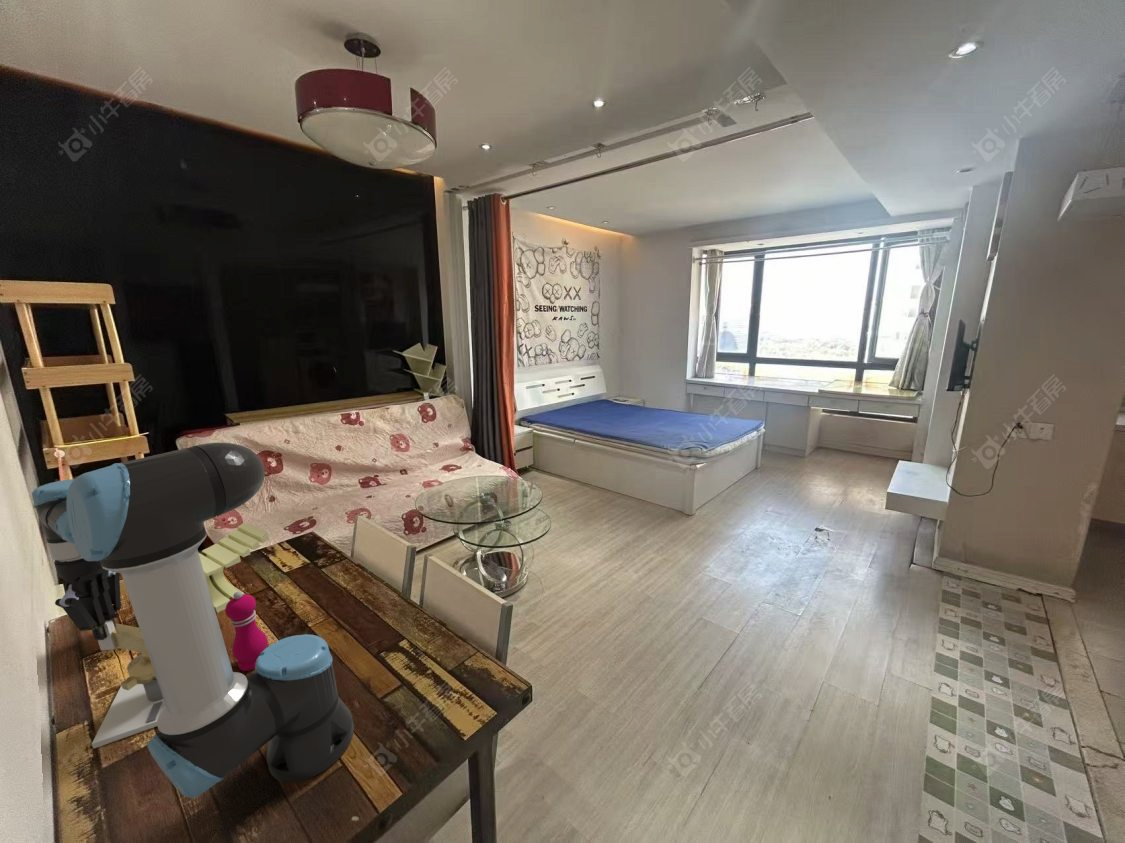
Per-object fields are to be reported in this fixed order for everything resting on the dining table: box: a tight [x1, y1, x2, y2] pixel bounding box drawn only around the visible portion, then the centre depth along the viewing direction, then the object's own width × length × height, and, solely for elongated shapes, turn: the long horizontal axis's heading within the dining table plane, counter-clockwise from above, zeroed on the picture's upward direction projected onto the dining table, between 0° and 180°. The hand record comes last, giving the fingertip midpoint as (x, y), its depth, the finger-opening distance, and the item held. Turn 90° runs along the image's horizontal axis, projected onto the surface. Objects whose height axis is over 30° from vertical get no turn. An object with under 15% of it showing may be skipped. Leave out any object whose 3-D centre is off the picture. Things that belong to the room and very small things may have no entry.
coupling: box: [112, 622, 157, 690], centre depth 97 cm, size 11×22×10 cm, turn 77°
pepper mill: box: [224, 590, 269, 672], centre depth 108 cm, size 7×7×20 cm
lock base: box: [91, 678, 166, 749], centre depth 100 cm, size 18×18×7 cm
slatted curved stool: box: [198, 522, 270, 614], centre depth 131 cm, size 30×16×18 cm, turn 149°
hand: (110, 647), depth 98 cm, fingers closed
